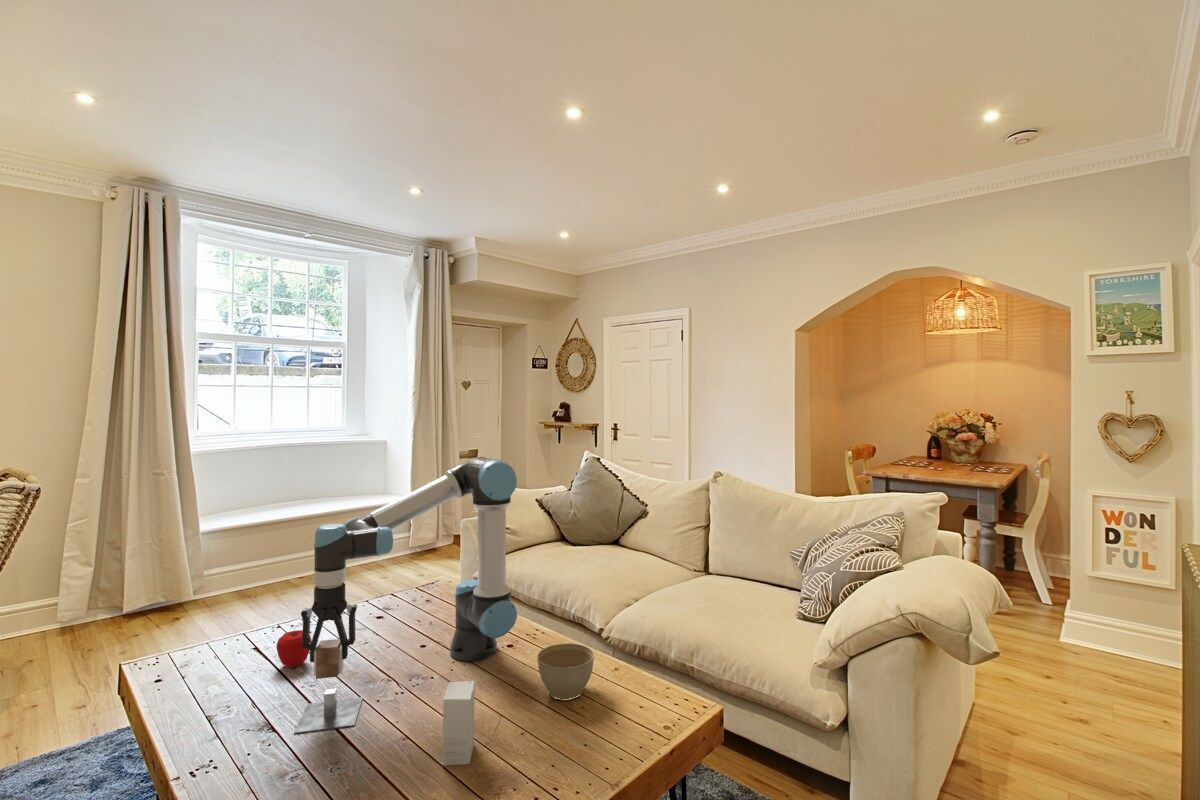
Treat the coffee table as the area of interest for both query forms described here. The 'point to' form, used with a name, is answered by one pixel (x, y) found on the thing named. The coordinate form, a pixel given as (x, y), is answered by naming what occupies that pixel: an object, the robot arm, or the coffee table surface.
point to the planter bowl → (565, 669)
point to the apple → (292, 649)
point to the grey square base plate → (329, 713)
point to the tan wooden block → (327, 658)
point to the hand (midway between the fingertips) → (328, 672)
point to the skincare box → (458, 723)
